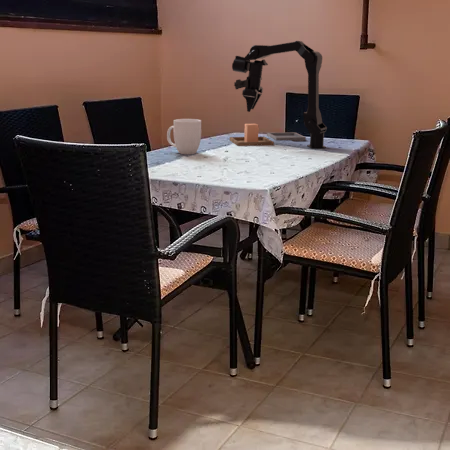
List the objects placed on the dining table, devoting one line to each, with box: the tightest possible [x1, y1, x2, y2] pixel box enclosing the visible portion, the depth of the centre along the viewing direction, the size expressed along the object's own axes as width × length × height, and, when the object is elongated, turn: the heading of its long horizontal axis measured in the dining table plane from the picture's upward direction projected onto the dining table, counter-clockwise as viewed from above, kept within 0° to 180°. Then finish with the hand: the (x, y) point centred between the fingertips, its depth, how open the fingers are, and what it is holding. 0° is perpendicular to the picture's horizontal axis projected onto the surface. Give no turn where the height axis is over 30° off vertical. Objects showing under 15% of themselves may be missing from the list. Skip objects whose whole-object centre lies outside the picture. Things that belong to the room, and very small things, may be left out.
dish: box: [229, 136, 275, 147], centre depth 286 cm, size 16×16×2 cm
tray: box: [266, 131, 307, 142], centre depth 303 cm, size 16×14×2 cm
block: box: [243, 123, 260, 142], centre depth 285 cm, size 5×5×8 cm
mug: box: [166, 118, 202, 155], centre depth 260 cm, size 15×11×13 cm
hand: (250, 110), depth 289 cm, fingers open, 9 cm apart
